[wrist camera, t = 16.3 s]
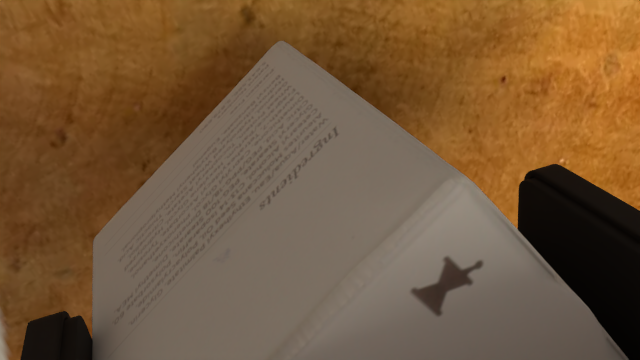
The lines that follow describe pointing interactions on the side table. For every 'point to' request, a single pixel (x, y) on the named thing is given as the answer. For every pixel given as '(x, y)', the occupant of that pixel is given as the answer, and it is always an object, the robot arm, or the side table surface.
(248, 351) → the white cardboard box
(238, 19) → the side table surface
